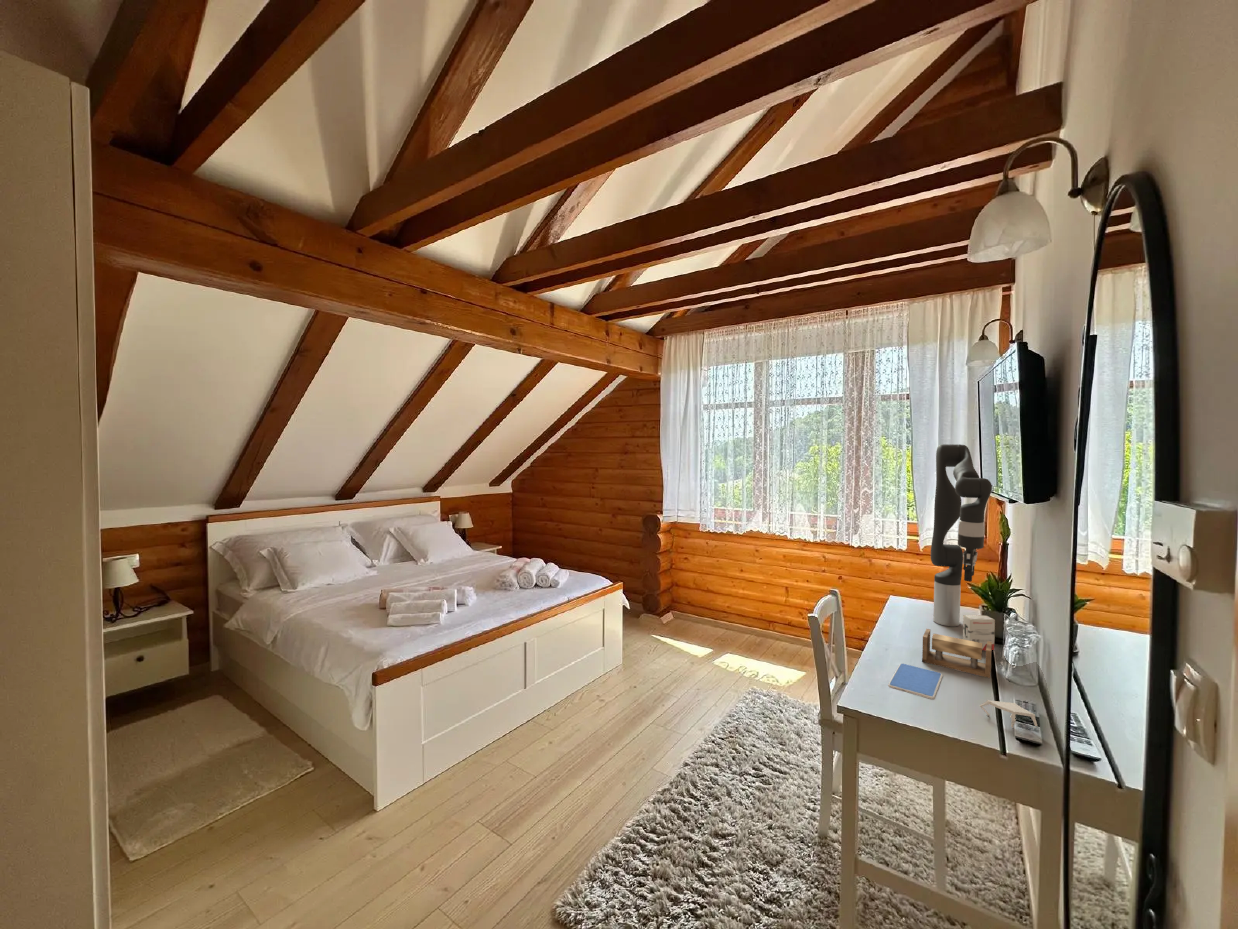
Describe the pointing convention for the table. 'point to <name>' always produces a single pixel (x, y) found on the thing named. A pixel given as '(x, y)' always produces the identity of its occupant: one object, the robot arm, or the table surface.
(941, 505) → the robot arm
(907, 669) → the blue flat rectangular panel
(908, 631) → the table surface
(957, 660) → the peg stand
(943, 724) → the table surface
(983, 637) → the ink box
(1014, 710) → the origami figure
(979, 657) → the golden rectangular block
